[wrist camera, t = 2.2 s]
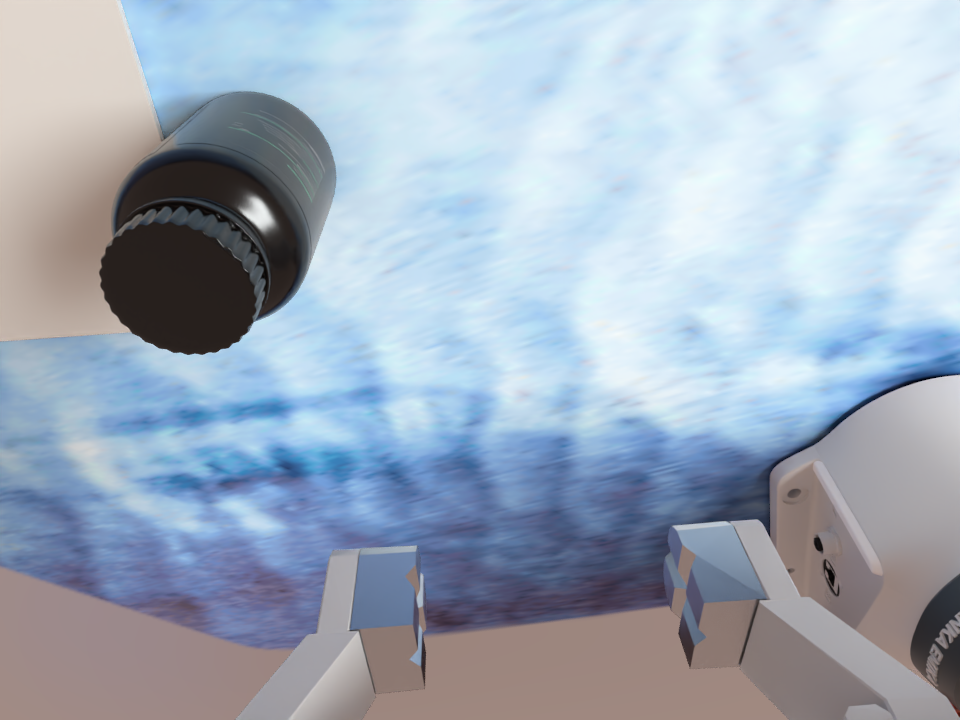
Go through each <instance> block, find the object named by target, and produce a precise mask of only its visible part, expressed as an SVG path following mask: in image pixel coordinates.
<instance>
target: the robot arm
mask: <svg viewBox="0 0 960 720" xmlns="http://www.w3.org/2000/svg"><path fill="white" fill-rule="evenodd" d="M667 541H668V544H669V547H670V550H671V552H670V553H669V554H668V555H666V556H665V559H664V568H663V573H664V586H665V590H666V595H667V599H668V602H669V606H670V609H671V611H672V612H673V613H675V614H676V615H677V616H678V617H679V618H680V619H681V621H680V627H679V633H678V634H679V637H680V640H681V643H682V646H683V649H684V652H685V655H686V658H687V661H688V664H689V667H690V669H700V668H718V667H719V668H721V667H740V670H741V671H742V672H743V673H744V674H745V675H746V676H747V677H748V678H749V679H750V680H751V681H752V682H753V683H754V684H755V686H756V687H757V688H759V690H760V691H761V692H762V693H763V694H764V695H765V696H766V697H767V698H768V699H769V700H770V701H771V702H772V703H773V704H774V705H775V706H776V707H777V708H778V709H779V710H780V711H781V712H782V713H783V714H784V715H785V716H786V717H787V718H788V719H789V720H960V375H954V376H945V377H938V378H933V379H928V380H924V381H921V382H917V383H914V384H911V385H908V386H905V387H902V388H899V389H897V390H895V391H892V392H890V393H888V394H886V395H883V396H881V397H879V398H878V399H876V400H874V401H872V402H870V403H869V404H867V405H865V406H864V407H862V408H860V409H859V410H857V411H856V412H855V413H853V414H852V415H850V416H849V417H848V418H846V419H845V420H844V421H843V422H841V423H840V424H839V425H838V426H837V427H836V428H835V429H834V430H832V431H831V432H830V433H829V434H828V435H827V436H826V437H824V438H823V439H822V440H821V441H819V442H818V443H816V444H815V445H814V446H811V447H809V448H807V449H805V450H803V451H801V452H799V453H797V454H795V455H793V456H791V457H789V458H787V459H785V460H784V461H782V462H781V463H779V464H778V465H777V466H776V467H775V468H774V469H773V470H772V472H771V474H770V537H769V535H768V533H767V531H766V529H765V528H764V526H763V524H762V523H761V522H760V521H759V520H758V519H755V520H741V521H729V522H726V521H721V522H710V523H699V524H687V525H676V526H671V528H670V530H669V533H668V539H667ZM420 571H421V557H420V552H419V547H418V546H399V547H378V548H361V549H344V550H333V551H332V553H331V555H330V557H329V561H328V567H327V572H326V578H325V584H324V590H323V596H322V601H321V607H320V613H319V619H318V625H317V630H316V634H307V636H306V637H305V638H304V639H303V640H302V641H301V643H300V644H299V645H298V646H297V647H296V649H295V650H294V651H293V652H292V653H291V655H290V656H289V657H288V658H287V659H286V661H284V663H283V664H282V665H281V666H280V667H279V669H278V670H277V671H276V672H275V673H274V674H273V676H272V677H271V678H270V679H269V680H268V681H267V683H266V684H265V685H264V686H263V687H262V689H261V690H260V691H259V692H258V693H257V695H256V696H255V697H254V698H253V699H252V700H251V701H250V703H249V704H248V705H247V706H246V707H245V709H244V710H243V711H242V712H241V713H240V714H239V716H238V717H237V718H236V719H235V720H362V719H363V718H364V716H365V714H366V713H367V711H368V709H369V708H370V706H371V704H372V703H373V701H374V699H375V697H376V696H375V694H380V693H390V692H400V691H410V690H419V689H425V665H426V651H425V644H424V638H423V633H424V631H425V630H426V592H425V582H424V575H423V574H421V573H420ZM910 670H914V671H919V672H920V673H921V674H922V675H923V676H924V677H925V678H926V679H927V680H928V681H929V682H930V683H931V684H932V685H933V686H934V687H935V688H936V689H937V690H936V689H935V688H934V687H932V686H931V685H929V684H928V683H927V682H925V681H924V680H922V679H921V678H920V677H918V676H917V675H916V674H914V673H913V672H912V671H910Z"/></svg>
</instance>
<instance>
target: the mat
mask: <svg viewBox="0 0 960 720" xmlns="http://www.w3.org/2000/svg"><path fill="white" fill-rule="evenodd" d="M164 140H165V139H164V136H163V133H162V130H161V126H160V123H159V120H158V117H157V114H156V111H155V107H154V104H153V101H152V98H151V95H150V92H149V89H148V85H147V82H146V79H145V76H144V73H143V70H142V66H141V63H140V60H139V57H138V54H137V51H136V47H135V44H134V41H133V38H132V35H131V32H130V28H129V25H128V22H127V19H126V16H125V13H124V9H123V6H122V3H121V0H0V341H14V340H28V339H42V338H56V337H70V336H84V335H99V334H113V333H127V332H131V331H130V330H129V328H128V327H126V326H124V325H123V324H121V323H120V321H119V318H118V317H117V316H116V315H115V314H113V313H112V312H111V309H110V305H109V304H108V303H107V302H106V301H105V299H104V292H103V290H102V289H101V287H100V283H101V278H100V275H99V271H100V269H101V267H102V266H101V258H102V256H103V255H104V254H105V250H106V246H107V244H108V243H109V242H110V241H111V240H112V239H113V238H112V231H111V211H112V205H113V201H114V198H115V195H116V192H117V190H118V188H119V186H120V184H121V183H122V181H123V180H124V178H125V177H126V176H127V174H128V173H129V172H130V171H131V170H132V169H133V167H134V166H135V165H136V164H137V163H139V162H140V161H141V160H142V159H143V158H144V157H145V156H146V155H148V154H149V153H150V152H151V151H152V150H153V149H154V148H156V147H157V146H158V145H159V144H160V143H161V142H162V141H164Z"/></svg>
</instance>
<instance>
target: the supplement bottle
mask: <svg viewBox="0 0 960 720" xmlns="http://www.w3.org/2000/svg"><path fill="white" fill-rule="evenodd" d="M335 187H336V169H335V163H334V159H333V155H332V152H331V149H330V147H329V145H328V143H327V141H326V139H325V137H324V136H323V134H322V133H321V131H320V130H319V128H318V127H317V126H316V125H315V124H314V122H313V121H312V120H311V119H310V118H309V117H308V116H307V115H305V114H304V113H303V112H302V111H301V110H299V109H298V108H296V107H295V106H293V105H292V104H290V103H288V102H286V101H284V100H282V99H280V98H277V97H274V96H271V95H267V94H263V93H257V92H236V93H231V94H227V95H223V96H221V97H218V98H216V99H214V100H212V101H210V102H209V103H207V104H206V105H204V106H203V107H202V108H200V109H199V110H198V111H196V112H195V113H194V114H193V115H192V116H191V117H190V118H188V119H187V120H186V121H185V122H184V123H183V124H182V125H181V126H179V127H178V128H177V129H176V130H175V131H174V132H173V133H171V134H170V135H169V136H168V137H167V138H166V139H165V140H164V141H162V142H161V143H160V144H159V145H158V146H157V147H156V148H154V149H153V150H152V151H151V152H150V153H149V154H148V155H146V156H145V157H144V158H143V159H142V160H141V161H140V162H139V163H137V164H136V165H135V166H134V167H133V169H132V170H131V171H130V172H129V173H128V174H127V176H126V177H125V178H124V180H123V181H122V183H121V184H120V186H119V188H118V190H117V192H116V195H115V198H114V201H113V205H112V211H111V231H112V238H113V239H112V240H111V241H110V242H109V243H108V244H107V246H106V250H105V254H104V255H103V256H102V258H101V266H102V267H101V269H100V271H99V275H100V278H101V283H100V287H101V289H102V290H103V292H104V299H105V301H106V302H107V303H108V304H109V305H110V309H111V312H112V313H113V314H115V315H116V316H117V317H118V318H119V321H120V323H121V324H123V325H124V326H126V327H128V328H129V330H130V331H131V332H132V333H133V334H135V335H137V336H140V337H141V338H142V339H143V340H144V341H145V342H148V343H151V344H154V345H155V346H156V347H158V348H160V349H167V350H169V351H171V352H173V353H179V352H181V353H184V354H187V355H190V354H194V353H196V354H201V355H203V354H206V353H208V352H212V353H216V352H218V351H219V350H220V349H226V348H229V347H230V346H231V345H232V344H233V343H236V342H239V341H240V340H241V338H242V336H243V335H245V334H246V333H248V332H249V330H250V328H251V326H252V324H253V322H255V321H258V320H261V319H263V318H266V317H268V316H270V315H272V314H273V313H275V312H277V311H278V310H280V309H281V308H282V307H283V306H285V305H286V304H287V303H288V302H289V301H290V300H291V299H292V298H293V297H294V295H295V294H296V293H297V291H298V290H299V288H300V286H301V284H302V282H303V281H304V278H305V276H306V274H307V271H308V269H309V266H310V263H311V260H312V258H313V255H314V252H315V249H316V246H317V244H318V241H319V238H320V235H321V232H322V230H323V227H324V224H325V221H326V218H327V215H328V213H329V210H330V207H331V204H332V200H333V197H334V193H335Z"/></svg>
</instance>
